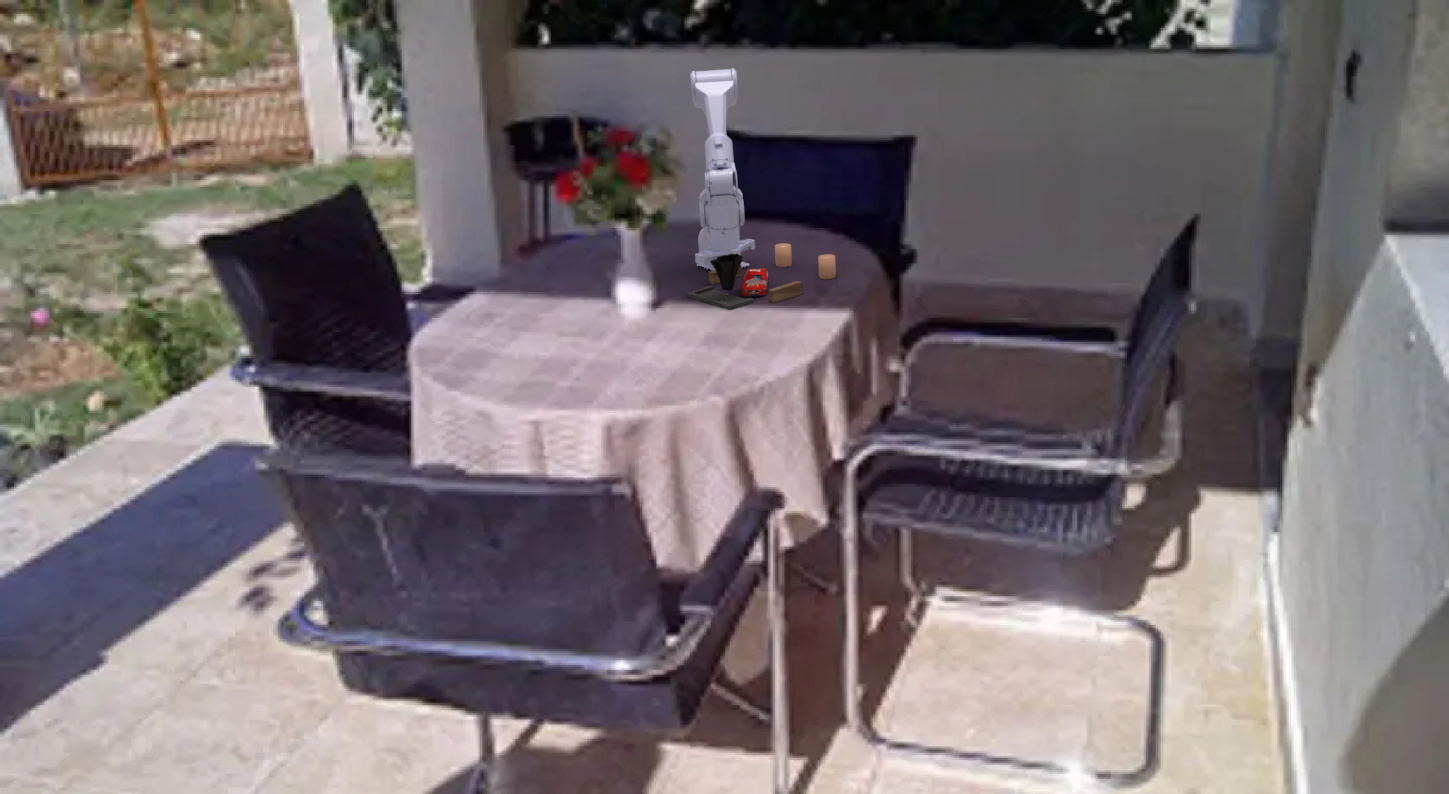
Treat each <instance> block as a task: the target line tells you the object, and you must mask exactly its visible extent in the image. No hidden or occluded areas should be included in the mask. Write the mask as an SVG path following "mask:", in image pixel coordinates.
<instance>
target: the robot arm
mask: <svg viewBox="0 0 1449 794" xmlns="http://www.w3.org/2000/svg"><path fill="white" fill-rule="evenodd" d="M689 77H690V90H691V91H690V93H691V99H692V104H693V105H694V108H696V109H699V110H702V111H703V114H704V116H705V119H706V130H707V139H706V140H705V141H704V156H705V158H704V159H705V170H706V171H705V172H704V185H705V188H704V189H703V190H702V191H700V194H699V204H698V205H699V218H700V219H699V221H700V227H701V230H700V231H699V234H698V239H697V242H698V253H695V254H694V256H695V257H694V258H695V264H696V266H697V267H698V266H702V267H704V268H703V269H705V268H706V269H705V270H708V269H710V270H709V271H714V270H716V272H717V275H718V277H719V280H720V283H719V284H720V286H721V288H722V290H723V291H726V292H730V291H733V290H734V287H735V284H736V283H735V282H736V279H737V278H736V274H737V271H738V268H739V266H740V265H741V269H743V267H744V268H747V267H750V262H749V263H748V262H744V261H743V255H741V254H742V252H745V251H749V250H750V251H753V250H756V239H751V238H746V239H740V238H741V236H740V229H741V227H743V226H744V224H745V223H746V221H745V220H746V219H745V206H744V205H745V204H744V199H743V197H744V196H743V192H742V191H741V189H740V188H739V186H738V185H739V184H738V182H739V181H738V174H737V173H738V172H737V169H736V164H735V162H734V160H735V159H734V149H733V148H734V147H733V146H734V144H733V141H732V139H731V138H730V137H729V136H728V134H727V113H728V110H729V109H730V108H731V107H733V106H736V104H737V101H738V96H739V91H738V90H739V89H738V88H739V87H738V86H739V85H738V73H737V70H736V69H735V68H734V67H731V68H727V69H714V70H712V69H711V70H697V71H695V70H692V71H691V72H690V74H689ZM746 266H747V267H746Z"/></svg>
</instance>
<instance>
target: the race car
mask: <svg viewBox="0 0 1449 794" xmlns="http://www.w3.org/2000/svg"><path fill="white" fill-rule="evenodd" d="M741 281H742V286H741V296H742V295H743V296H742V297H761V296H767V292H768V288H769V272H768V270H767V269H766V268H764V267H762V268H761V267H758V268H755V267H754V268H748V269H747V270H746V272H745V274H744V277H743V278H742V277H741Z"/></svg>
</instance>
